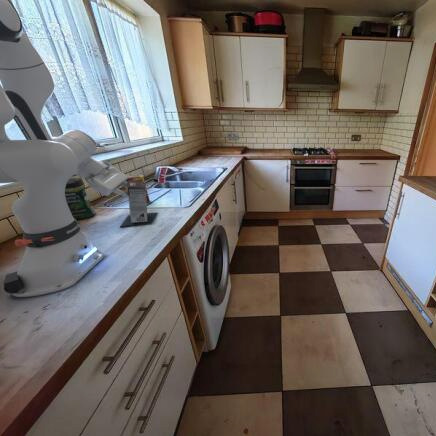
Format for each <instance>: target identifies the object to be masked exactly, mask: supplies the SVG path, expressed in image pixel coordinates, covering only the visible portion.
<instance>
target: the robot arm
mask: <svg viewBox="0 0 436 436" xmlns="http://www.w3.org/2000/svg"><path fill="white" fill-rule="evenodd" d="M55 88H56V82H55V79H54V75H53V74H52V71H51V70H50V69H49V67H48V65H47V63H46V62H45V60H44V59H43V57H42V56H41V54H40V52H39V51H38V50H37V48H36V47H35V46H34V45H33V43H32V41H31V40H30V38H28V37H27V35H26V34H25V33H24V31H23V22H22V19H21V17H20V14H19V12H18V11H17V9H16V7H15V6H14V4H13V3H12V2H11V0H0V184H12V183H20V184H21V185H22V189H23V194H22V195H21V196H19V197H18V198H16V199H15V200H14V201H13V203H12V205H11V212H12V214H13V215H14V217H15V219H16V221H17V222H18V224H19V226H20V227H21V229H22V230H23V231H22V238H21V239H16V240H15V241H14V246H15V247H25V251H24V253H23V255H22V257H21V260H20V263H19V265H18V268H17V271H14V272H10V273H7V274H5V277H4V279H3V283H2V285H3V290H4V291H5V293H8V294H12V296H13V297H16V298H29V297H30V298H31V297H36V296H42V295H48V294H52V293H55V292H59V291H62V290H66V289H68V288H70V287H72V286H74V285H76V284H77V282H78V281H80V280H81V279H82V278H83V277H84V276H85V275H86V274H88V272H90V270H92V269H93V268H94V267H95V266H96V265H97V264H99V262H100V261H101V260H103V259H104V255H103V253H99V252H98V251H97V249H98V248H97V247H95V246H94V244H93V242H92V241H91V239H90V237H89V236H87V235H86V234H84V233H83V232H82V231H81V227H80V224H79V222H78V220H77V219H75V218H73V216H72V214H71V211H70V209H69V207H68V204H67V201H66V198H65V187H66V184H67V182H68V180H69V179H70V178H73V176H74V175H75V174H76V175H77V176H78V177H79V178H81V179H83V180H85V182H86V183H87V184H88V186H89V187H90V188H92V189H93V190H95V191H96V192H98V193H99V194H101V195H102V196H106V197H109V196H110V195H111V194H115V195H119V196H121V197H124V198H127V197H128V193H127V191H126V190H122V189H120V187H121V186H122V187H124V188H125V187H126V188H127V190H128V186H127V182H126V180H127V179H128V175H127V174H125V173H124V172H122V171H121V170H120V169H118V168H116V167H114V166H112V163H110V162H108V161H102V160H97V159H96V158H95V157H92V155H94V154H95V152H96V151H97V149H98V147H97V146H98V145H97V143H96V140H95V139H94V138H93V137H92V136H91V135H89V134H88V133H86V132H84V131H82V130H79V129H70V130H67V131H65V132H64V133H63V134H61V135H59V136H51V135H50V133H49V131H48V130H47V128H46V126H45V124H44V122H43V118H42V114H43V110H44V107H45V106H46V104H47V102H48V100H49V99H50V98H51V97H52V95H53V94H54V92H55ZM13 120H14V122H15V124H16V125H17V127H18V129H19V130H20V132H21V133H22V135H23V136H24V137H25V138H24V139H10V137H9V136H8V135H7V132H6V129H5V127H6V125H8V124H9V123H11V122H12V121H13ZM126 188H125V189H126Z"/></svg>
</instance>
